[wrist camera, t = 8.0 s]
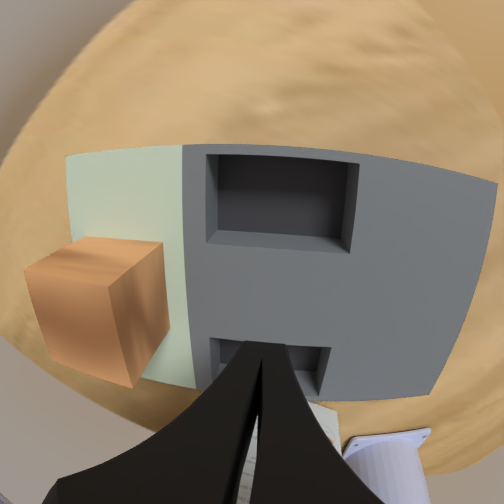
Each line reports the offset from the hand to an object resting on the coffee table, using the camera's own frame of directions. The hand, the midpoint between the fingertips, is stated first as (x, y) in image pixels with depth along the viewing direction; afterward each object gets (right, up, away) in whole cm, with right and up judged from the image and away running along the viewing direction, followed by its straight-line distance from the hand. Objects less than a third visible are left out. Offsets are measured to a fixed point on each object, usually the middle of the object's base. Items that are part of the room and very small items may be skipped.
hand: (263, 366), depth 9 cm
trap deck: (+1, +2, +6) cm, 7 cm away
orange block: (-7, +2, +4) cm, 8 cm away
